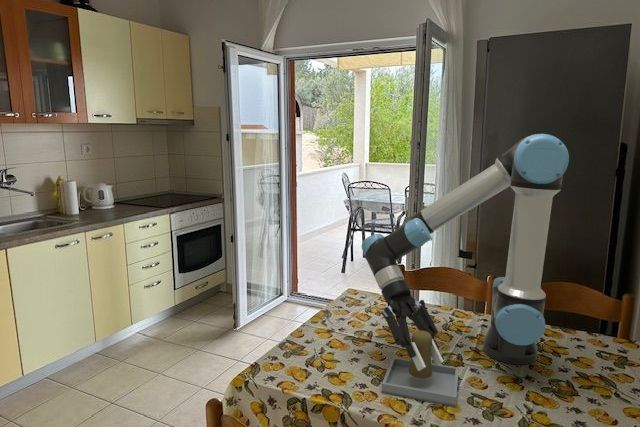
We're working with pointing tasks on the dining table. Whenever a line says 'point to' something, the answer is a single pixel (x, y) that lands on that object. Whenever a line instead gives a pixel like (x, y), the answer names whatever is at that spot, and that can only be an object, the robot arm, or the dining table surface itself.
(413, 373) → the cork
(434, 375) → the tray
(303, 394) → the dining table surface
